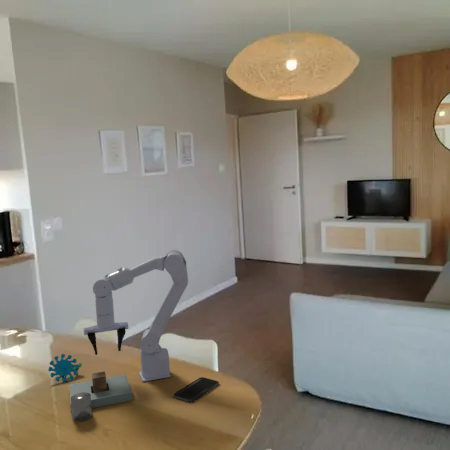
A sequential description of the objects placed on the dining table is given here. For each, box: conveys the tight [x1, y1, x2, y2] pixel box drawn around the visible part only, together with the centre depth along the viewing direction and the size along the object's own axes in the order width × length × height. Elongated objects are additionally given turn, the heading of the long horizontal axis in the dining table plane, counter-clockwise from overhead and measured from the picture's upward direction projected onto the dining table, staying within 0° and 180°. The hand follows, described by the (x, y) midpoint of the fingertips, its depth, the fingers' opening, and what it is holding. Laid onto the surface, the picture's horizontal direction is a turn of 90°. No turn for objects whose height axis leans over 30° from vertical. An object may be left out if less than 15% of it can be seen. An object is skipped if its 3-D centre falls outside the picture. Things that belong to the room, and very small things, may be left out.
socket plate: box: [69, 374, 133, 413], centre depth 146 cm, size 18×14×2 cm
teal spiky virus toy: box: [48, 353, 83, 383], centre depth 162 cm, size 11×6×10 cm
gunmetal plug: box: [70, 392, 93, 423], centre depth 134 cm, size 6×6×6 cm
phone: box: [173, 376, 220, 404], centre depth 147 cm, size 8×1×15 cm
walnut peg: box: [91, 371, 107, 393], centre depth 146 cm, size 4×4×7 cm
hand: (107, 351), depth 158 cm, fingers open, 7 cm apart
